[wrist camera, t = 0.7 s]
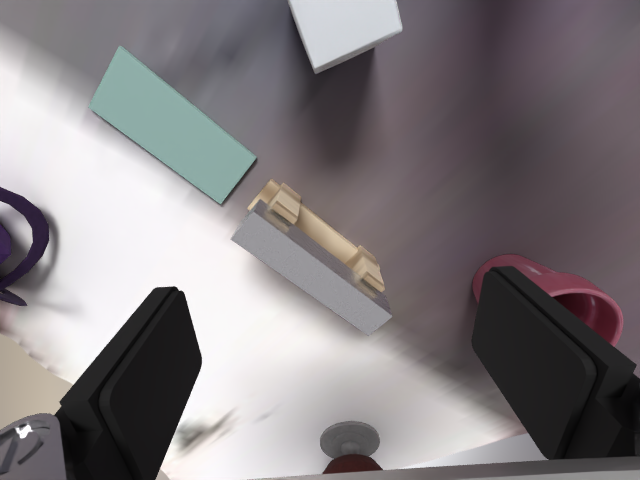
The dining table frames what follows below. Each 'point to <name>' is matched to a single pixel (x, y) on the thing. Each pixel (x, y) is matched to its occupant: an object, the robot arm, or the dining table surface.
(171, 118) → the mat
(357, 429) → the mate gourd
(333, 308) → the block
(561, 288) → the plant pot
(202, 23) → the dining table surface
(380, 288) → the rack
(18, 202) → the decorative bottle
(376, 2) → the supplement box
